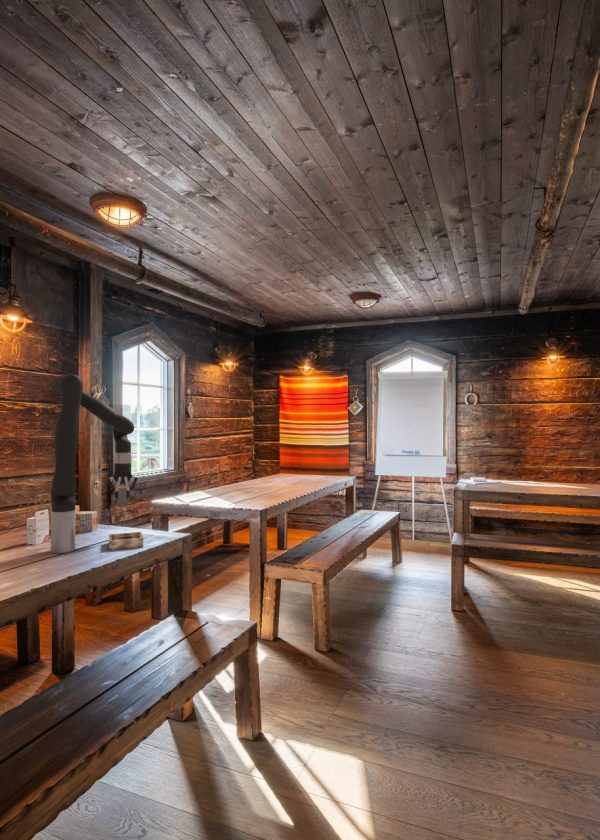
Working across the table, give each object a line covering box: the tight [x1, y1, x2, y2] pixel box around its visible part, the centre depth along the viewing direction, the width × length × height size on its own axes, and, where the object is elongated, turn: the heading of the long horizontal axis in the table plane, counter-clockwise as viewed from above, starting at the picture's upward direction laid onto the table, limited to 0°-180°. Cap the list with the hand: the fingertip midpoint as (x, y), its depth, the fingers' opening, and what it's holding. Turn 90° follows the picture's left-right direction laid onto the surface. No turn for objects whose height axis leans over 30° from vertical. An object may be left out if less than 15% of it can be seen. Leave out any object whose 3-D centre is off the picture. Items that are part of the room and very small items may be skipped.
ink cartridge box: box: [26, 508, 50, 546], centre depth 221 cm, size 9×5×15 cm, turn 168°
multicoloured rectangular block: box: [49, 505, 98, 533], centre depth 246 cm, size 21×6×12 cm, turn 88°
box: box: [108, 531, 144, 551], centre depth 216 cm, size 14×14×4 cm
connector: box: [117, 484, 127, 505], centre depth 227 cm, size 4×4×9 cm
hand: (122, 498), depth 227 cm, fingers closed on connector, 3 cm apart
